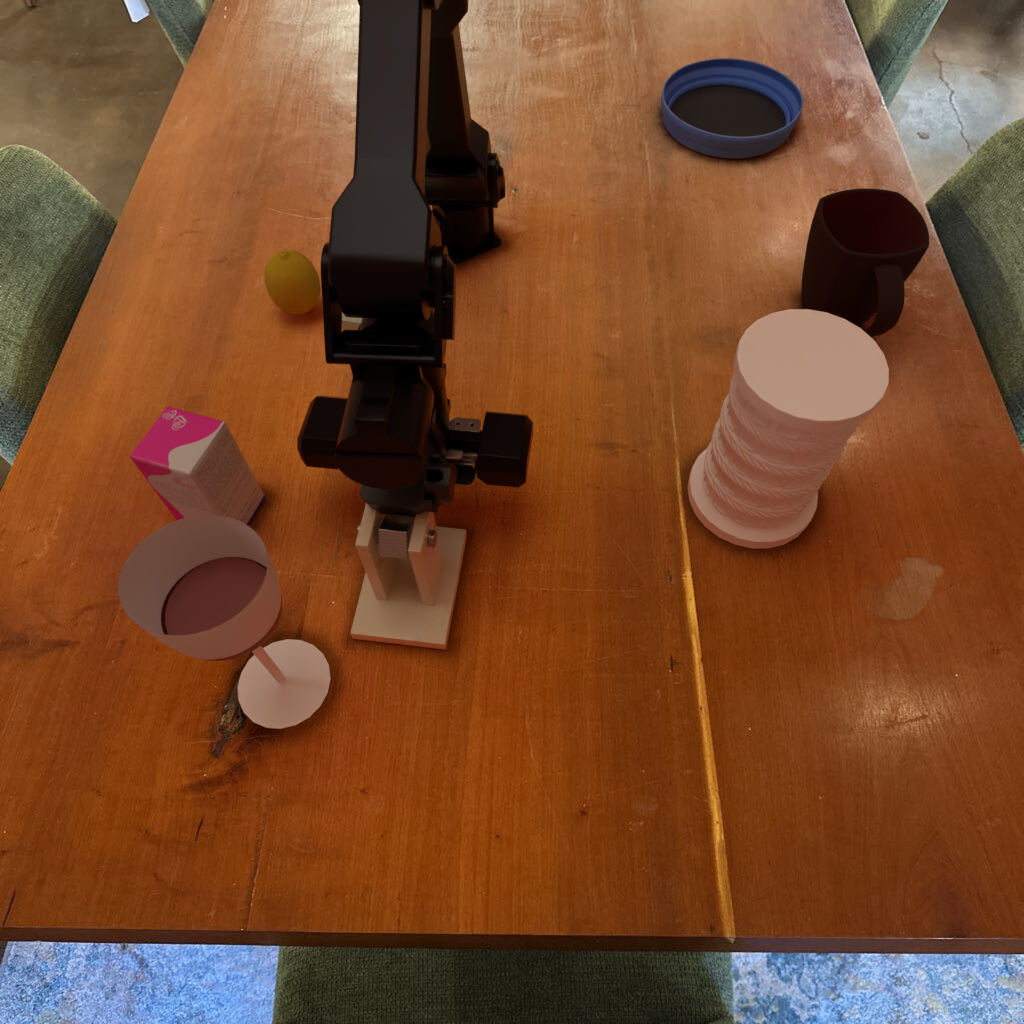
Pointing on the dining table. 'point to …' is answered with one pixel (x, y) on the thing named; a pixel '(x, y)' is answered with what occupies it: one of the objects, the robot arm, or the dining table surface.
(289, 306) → the lemon
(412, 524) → the lever
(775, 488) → the decorative container
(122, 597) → the wineglass
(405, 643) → the bracket
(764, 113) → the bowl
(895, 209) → the cup
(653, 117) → the dining table surface
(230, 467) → the supplement box
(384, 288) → the robot arm
